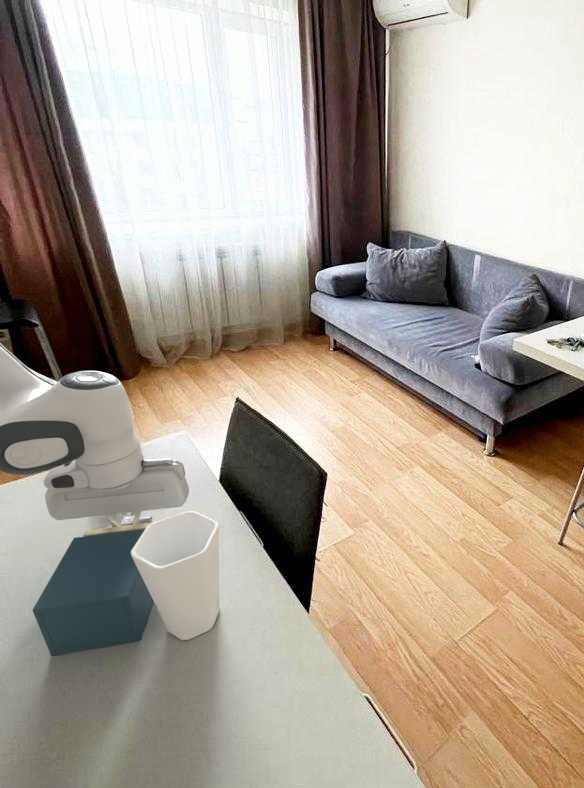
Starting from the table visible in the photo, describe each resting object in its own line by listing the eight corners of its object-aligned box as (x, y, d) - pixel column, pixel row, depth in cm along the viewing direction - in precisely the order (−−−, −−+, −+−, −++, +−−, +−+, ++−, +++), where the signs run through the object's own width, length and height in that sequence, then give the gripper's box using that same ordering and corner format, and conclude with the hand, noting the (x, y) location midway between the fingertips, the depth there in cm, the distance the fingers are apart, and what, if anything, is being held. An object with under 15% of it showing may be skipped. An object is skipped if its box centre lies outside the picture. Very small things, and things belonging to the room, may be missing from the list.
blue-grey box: (88, 580, 83) (73, 537, 79) (164, 569, 86) (154, 527, 82) (51, 656, 71) (32, 610, 67) (141, 641, 74) (127, 595, 70)
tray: (106, 544, 89) (96, 510, 86) (170, 536, 92) (162, 503, 89) (65, 629, 74) (51, 592, 71) (142, 616, 77) (132, 580, 74)
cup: (140, 630, 76) (115, 546, 69) (196, 582, 84) (179, 503, 77) (192, 662, 72) (171, 577, 65) (245, 608, 80) (232, 528, 73)
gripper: (186, 446, 86) (198, 508, 92) (50, 458, 81) (71, 522, 87) (177, 468, 80) (190, 533, 86) (30, 482, 76) (55, 549, 81)
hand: (130, 528), depth 86 cm, fingers closed
